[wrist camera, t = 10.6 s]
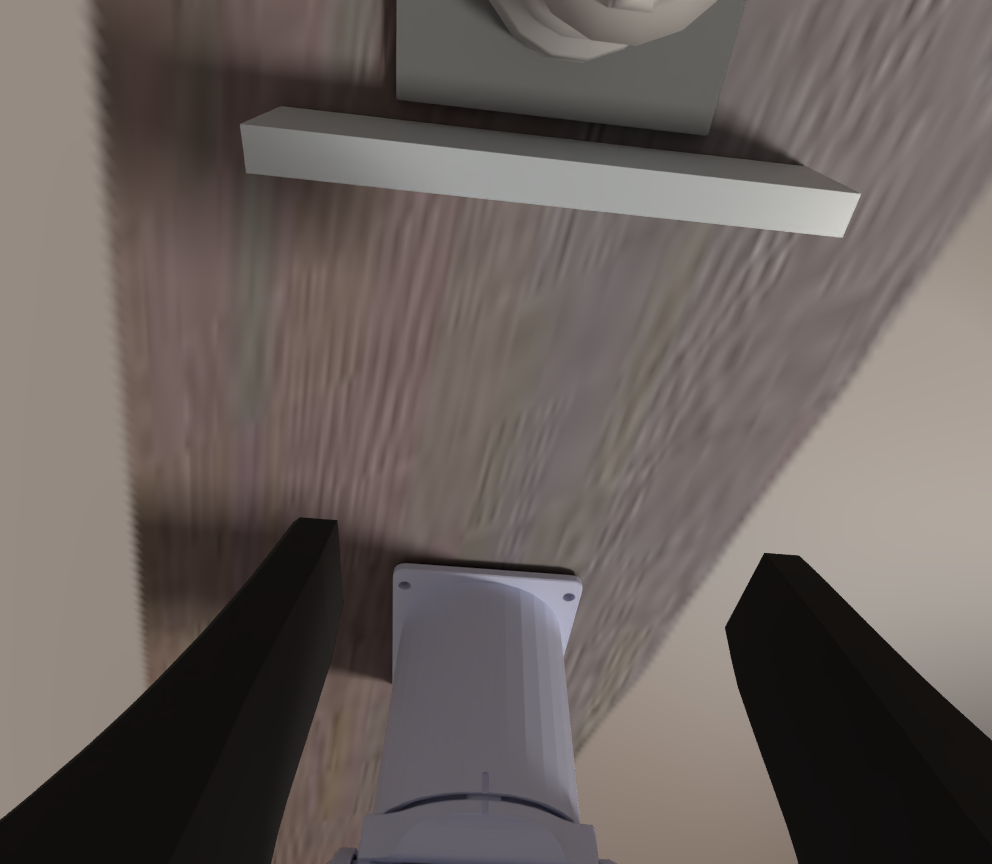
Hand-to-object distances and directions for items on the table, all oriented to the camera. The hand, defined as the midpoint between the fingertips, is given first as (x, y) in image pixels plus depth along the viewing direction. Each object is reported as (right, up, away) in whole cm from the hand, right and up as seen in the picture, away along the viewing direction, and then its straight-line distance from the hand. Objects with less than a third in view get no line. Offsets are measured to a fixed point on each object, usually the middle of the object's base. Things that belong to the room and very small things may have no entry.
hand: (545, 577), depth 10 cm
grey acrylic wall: (0, +10, +6) cm, 11 cm away
